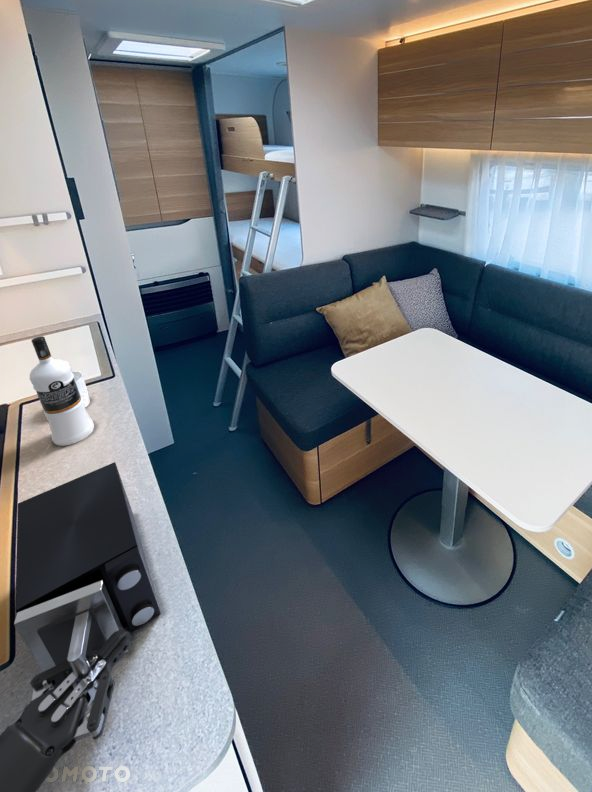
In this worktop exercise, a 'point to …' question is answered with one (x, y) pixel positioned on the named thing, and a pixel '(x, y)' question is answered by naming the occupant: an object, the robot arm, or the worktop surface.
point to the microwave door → (69, 628)
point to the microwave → (84, 547)
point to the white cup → (81, 387)
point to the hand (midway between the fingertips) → (127, 633)
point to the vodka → (59, 397)
